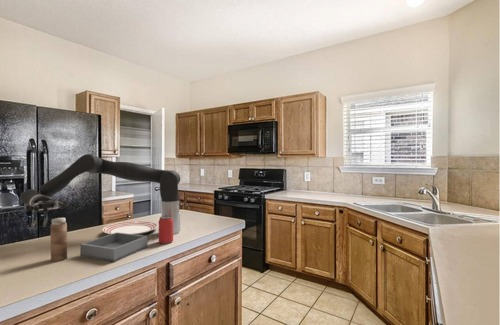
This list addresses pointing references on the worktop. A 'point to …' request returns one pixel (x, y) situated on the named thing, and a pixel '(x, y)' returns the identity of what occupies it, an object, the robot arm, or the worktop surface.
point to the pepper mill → (58, 239)
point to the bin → (113, 246)
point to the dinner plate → (130, 227)
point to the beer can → (165, 229)
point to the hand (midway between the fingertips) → (50, 207)
